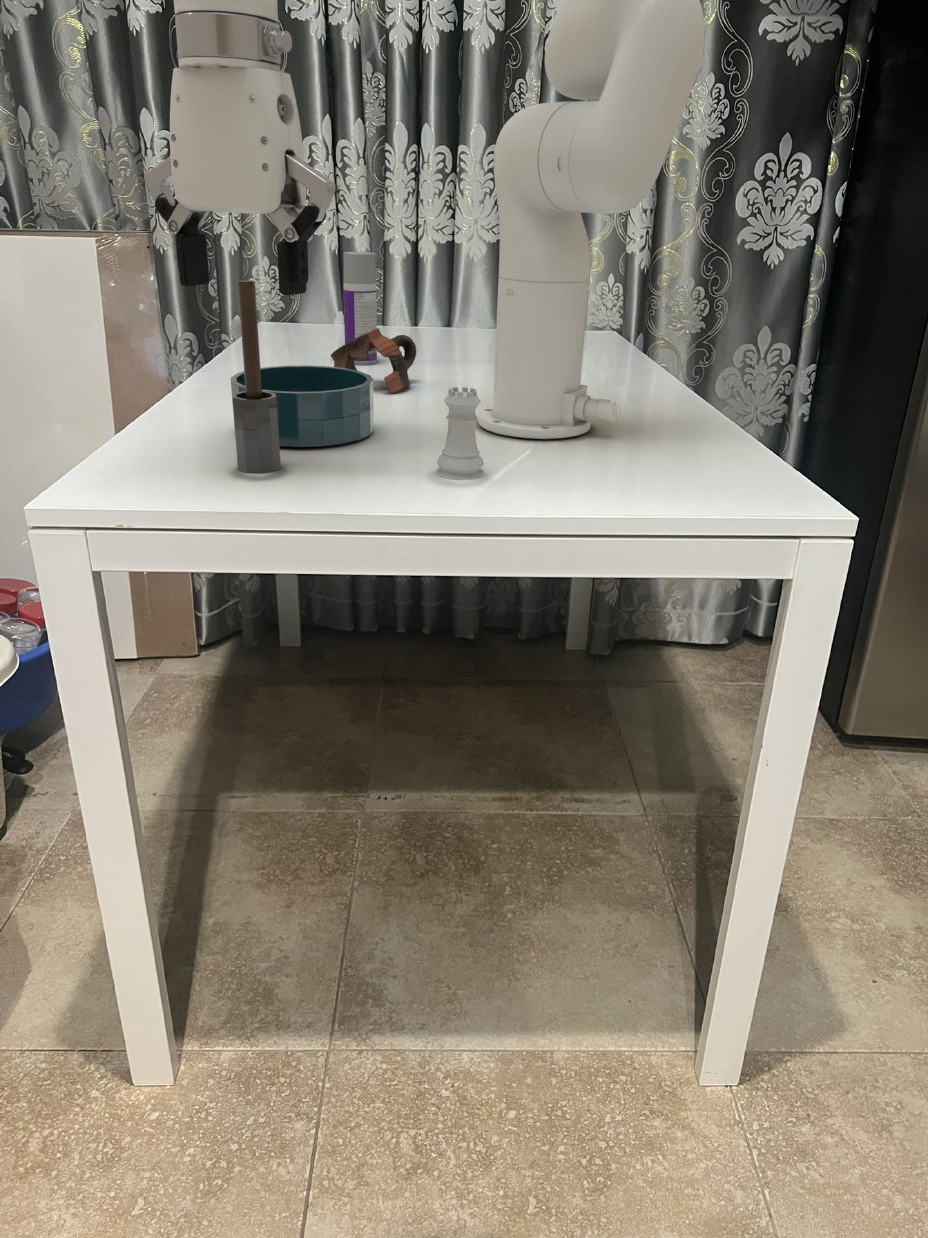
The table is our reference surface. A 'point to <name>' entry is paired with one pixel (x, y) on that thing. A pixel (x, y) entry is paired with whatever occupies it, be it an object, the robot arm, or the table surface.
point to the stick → (250, 339)
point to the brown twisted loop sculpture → (386, 348)
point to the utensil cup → (256, 433)
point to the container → (360, 298)
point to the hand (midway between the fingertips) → (243, 289)
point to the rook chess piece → (461, 437)
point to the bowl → (317, 403)
